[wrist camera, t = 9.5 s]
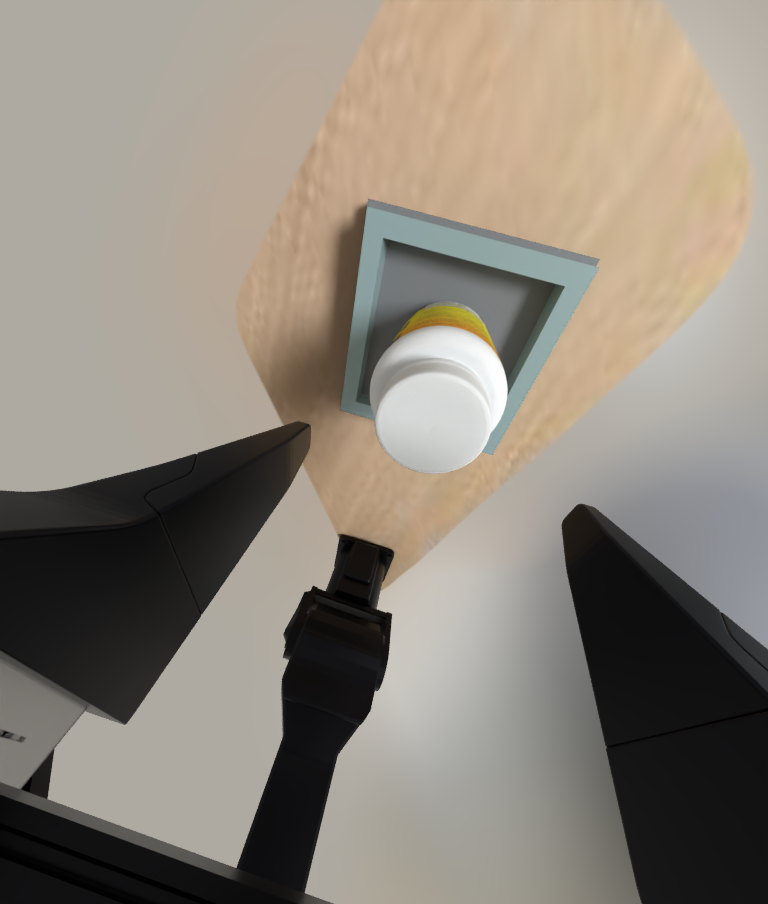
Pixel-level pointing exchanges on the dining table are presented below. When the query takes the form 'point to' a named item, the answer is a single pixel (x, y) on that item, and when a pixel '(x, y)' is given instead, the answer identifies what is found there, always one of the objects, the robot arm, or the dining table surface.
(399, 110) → the dining table surface
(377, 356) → the tray
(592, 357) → the dining table surface
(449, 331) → the supplement bottle
